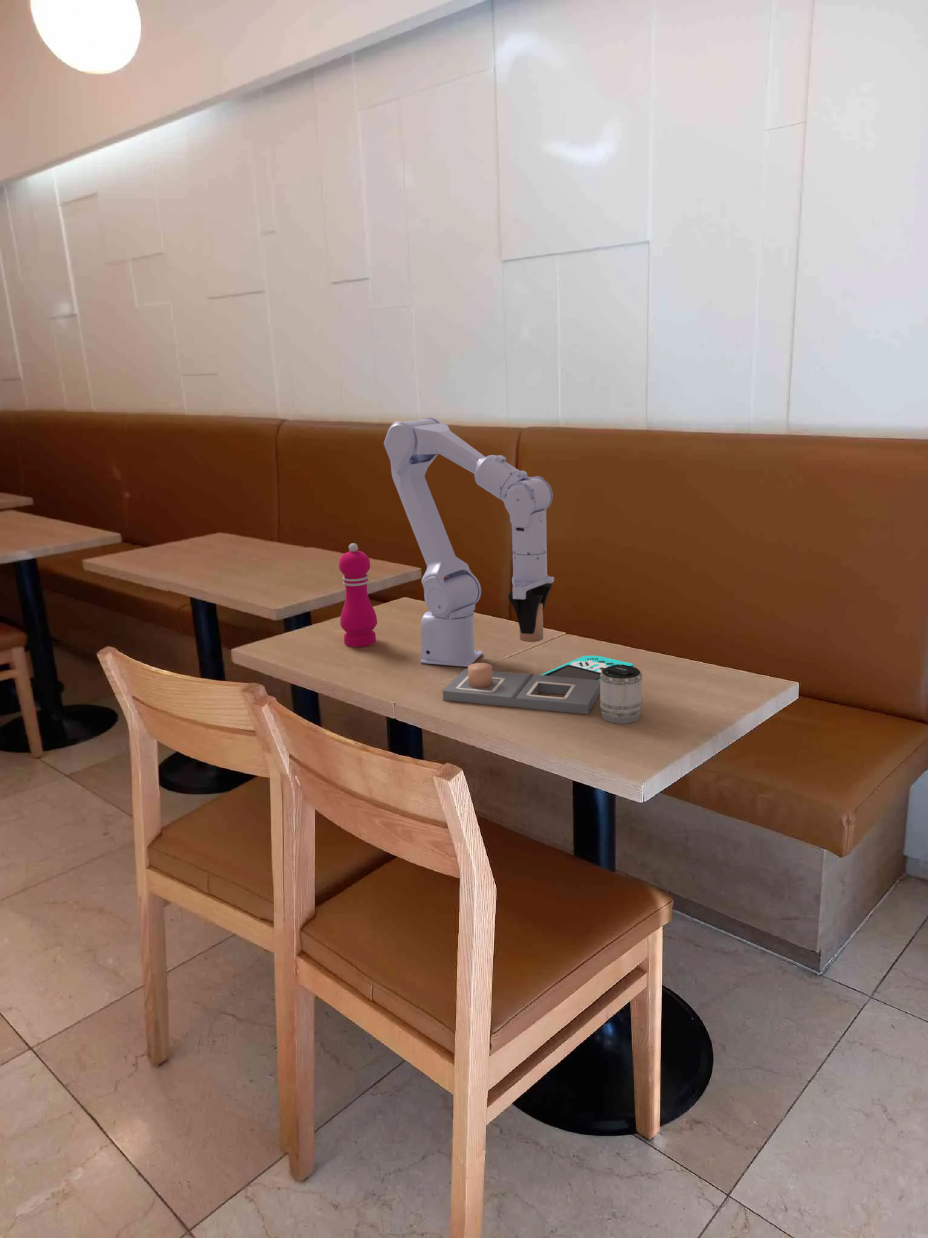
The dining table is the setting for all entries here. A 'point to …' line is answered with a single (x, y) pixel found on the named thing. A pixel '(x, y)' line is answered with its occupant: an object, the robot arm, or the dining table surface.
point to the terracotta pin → (538, 629)
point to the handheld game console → (585, 667)
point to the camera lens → (620, 694)
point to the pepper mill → (357, 600)
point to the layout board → (522, 690)
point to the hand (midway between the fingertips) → (531, 629)
